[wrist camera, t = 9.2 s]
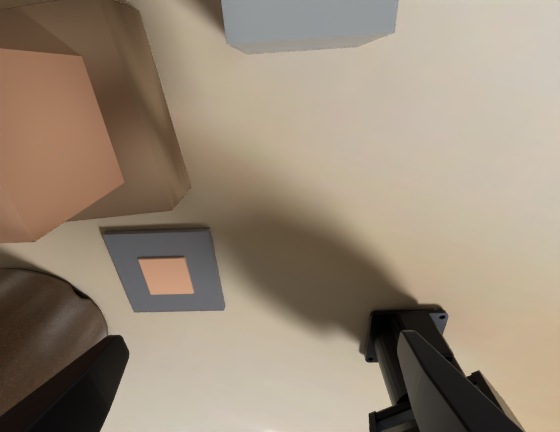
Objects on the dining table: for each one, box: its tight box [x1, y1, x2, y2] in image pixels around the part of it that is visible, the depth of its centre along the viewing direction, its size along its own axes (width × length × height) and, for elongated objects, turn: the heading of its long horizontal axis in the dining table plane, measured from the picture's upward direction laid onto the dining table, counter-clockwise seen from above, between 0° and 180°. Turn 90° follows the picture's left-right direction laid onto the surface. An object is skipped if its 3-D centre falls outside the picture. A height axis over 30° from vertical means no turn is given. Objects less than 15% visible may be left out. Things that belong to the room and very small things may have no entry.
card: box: [102, 228, 225, 312], centre depth 22 cm, size 8×8×1 cm
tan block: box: [0, 0, 191, 222], centre depth 16 cm, size 10×10×4 cm
